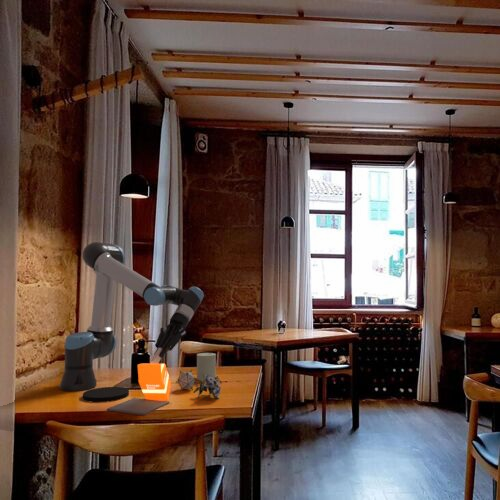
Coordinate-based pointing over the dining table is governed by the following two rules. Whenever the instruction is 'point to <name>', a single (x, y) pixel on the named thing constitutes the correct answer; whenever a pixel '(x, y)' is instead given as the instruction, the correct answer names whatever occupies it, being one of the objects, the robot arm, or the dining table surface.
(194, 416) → the dining table surface
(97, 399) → the wireless charger
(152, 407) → the mat
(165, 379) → the orange juice
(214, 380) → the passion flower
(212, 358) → the can
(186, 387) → the game die
